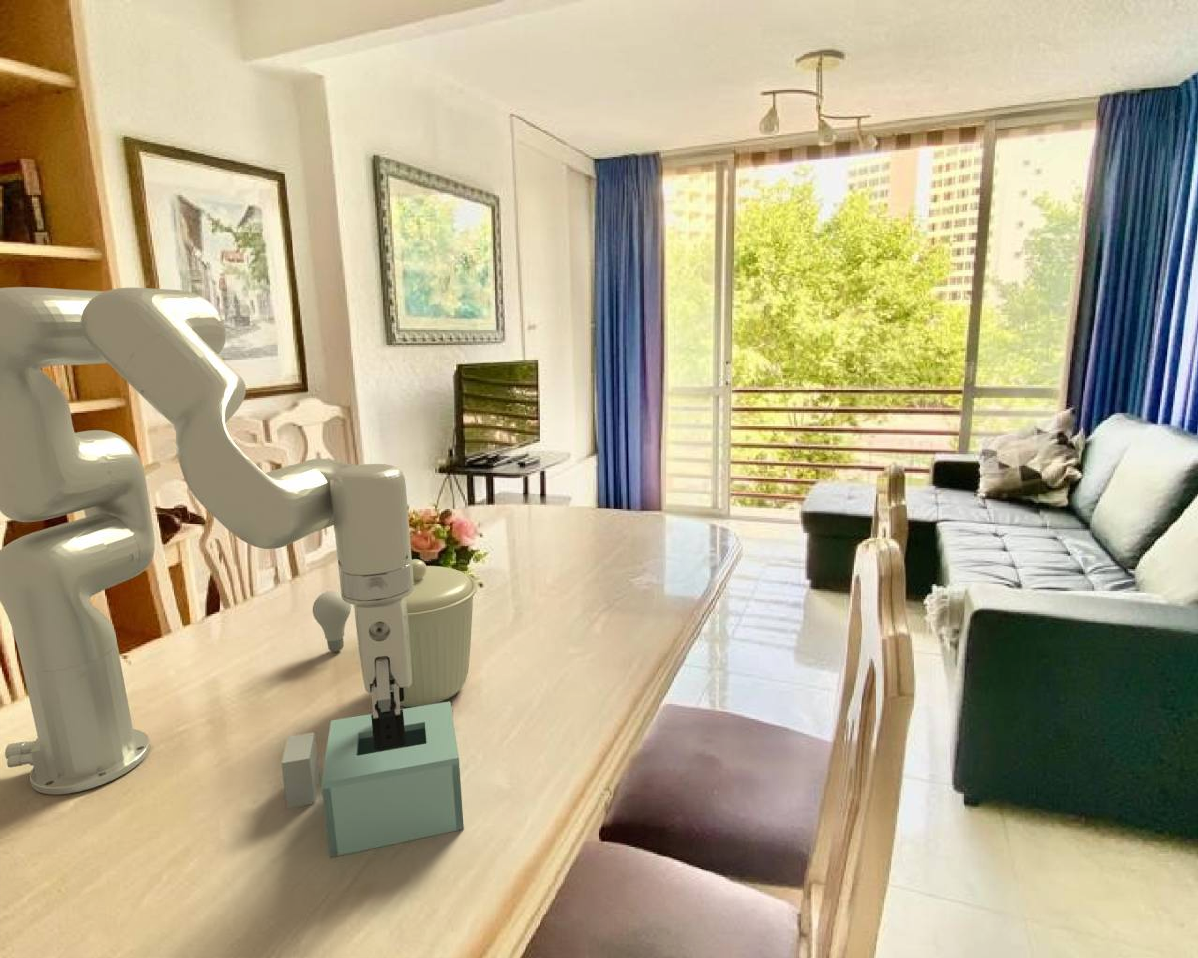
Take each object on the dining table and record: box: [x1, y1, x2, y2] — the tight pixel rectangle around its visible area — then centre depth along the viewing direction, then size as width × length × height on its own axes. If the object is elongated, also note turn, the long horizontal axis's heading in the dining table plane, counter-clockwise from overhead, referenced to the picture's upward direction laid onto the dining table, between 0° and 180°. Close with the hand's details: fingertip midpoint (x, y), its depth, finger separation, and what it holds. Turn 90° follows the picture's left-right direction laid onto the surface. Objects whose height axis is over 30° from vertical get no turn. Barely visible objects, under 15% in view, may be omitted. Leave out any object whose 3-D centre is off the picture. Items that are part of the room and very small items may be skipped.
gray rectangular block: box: [280, 732, 320, 809], centre depth 83 cm, size 6×3×6 cm, turn 16°
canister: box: [352, 558, 478, 708], centre depth 104 cm, size 18×18×21 cm
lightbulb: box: [312, 590, 352, 653], centre depth 118 cm, size 6×6×11 cm
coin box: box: [320, 701, 465, 858], centre depth 80 cm, size 14×12×9 cm
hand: (390, 722), depth 78 cm, fingers open, 8 cm apart
